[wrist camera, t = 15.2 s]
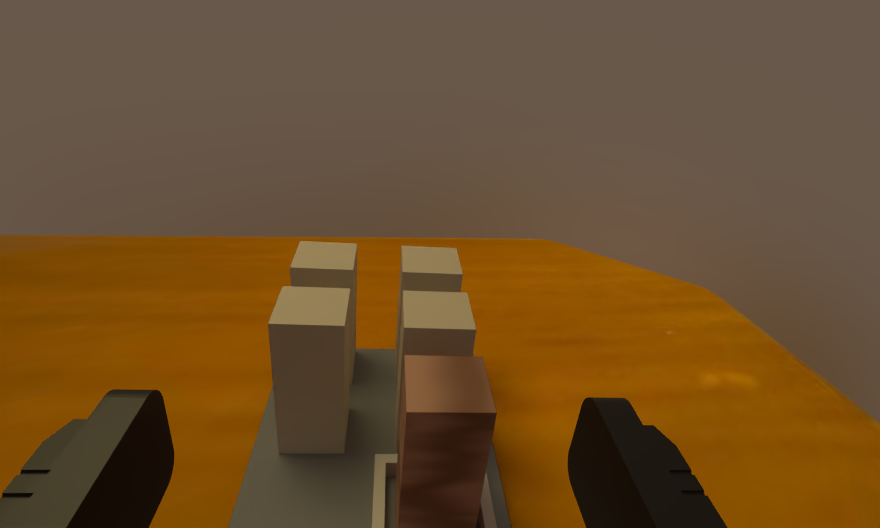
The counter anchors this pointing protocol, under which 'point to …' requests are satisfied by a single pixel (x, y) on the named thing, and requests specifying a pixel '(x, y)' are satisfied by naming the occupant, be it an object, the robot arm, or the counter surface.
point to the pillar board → (349, 393)
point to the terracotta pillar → (443, 441)
